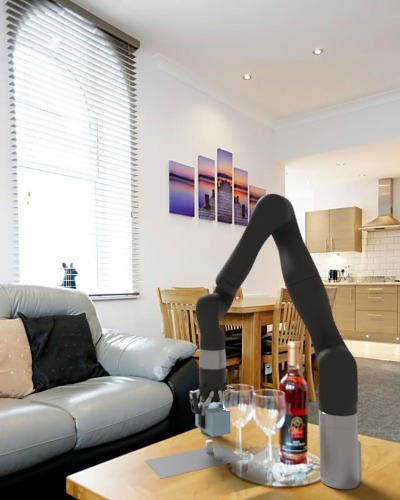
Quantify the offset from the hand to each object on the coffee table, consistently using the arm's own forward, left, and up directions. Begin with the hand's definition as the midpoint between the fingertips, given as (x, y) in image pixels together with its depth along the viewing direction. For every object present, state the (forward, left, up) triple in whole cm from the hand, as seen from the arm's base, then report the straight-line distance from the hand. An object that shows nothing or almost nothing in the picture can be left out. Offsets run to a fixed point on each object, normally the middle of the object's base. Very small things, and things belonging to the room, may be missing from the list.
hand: (212, 426), depth 121 cm
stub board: (+6, 0, -9) cm, 11 cm away
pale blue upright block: (0, 0, -1) cm, 1 cm away
